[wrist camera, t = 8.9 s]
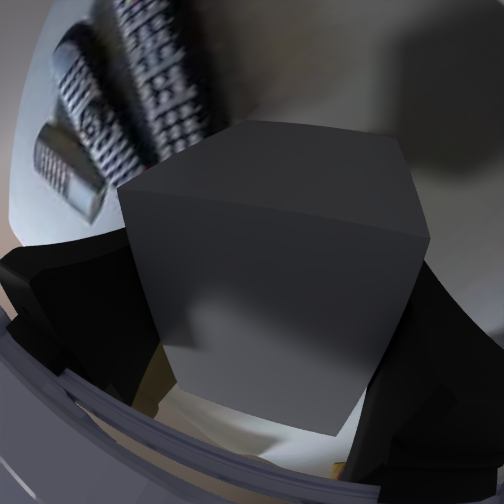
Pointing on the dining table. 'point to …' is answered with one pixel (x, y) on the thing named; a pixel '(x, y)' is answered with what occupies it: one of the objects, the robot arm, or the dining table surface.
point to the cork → (154, 384)
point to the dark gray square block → (278, 265)
